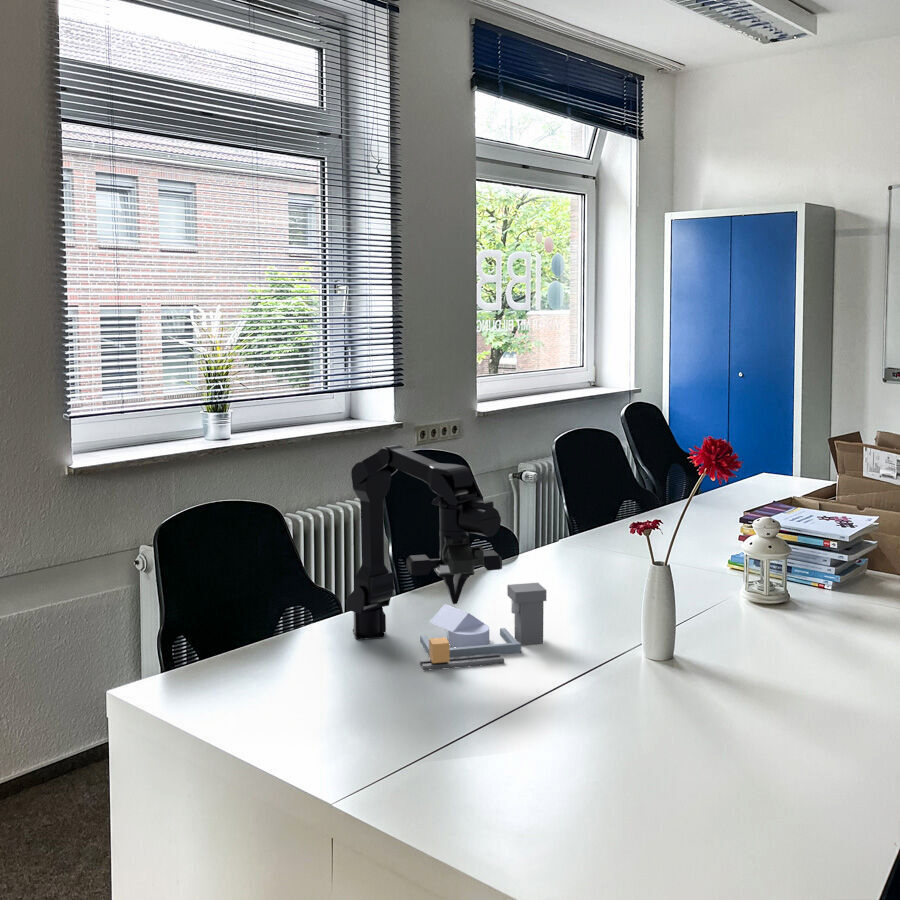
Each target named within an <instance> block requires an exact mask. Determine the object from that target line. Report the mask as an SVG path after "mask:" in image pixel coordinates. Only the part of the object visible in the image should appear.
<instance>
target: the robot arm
mask: <svg viewBox="0 0 900 900" xmlns="http://www.w3.org/2000/svg"><path fill="white" fill-rule="evenodd" d="M397 471H399V472H400V471H401V472H403V473H405V474H407V475H410V476H411V477H414V478H417V479H419V480H421V481H423V482H424V483H426V484H427V485H428V488H429V489H430V490H431V491H432V492H433V493H435V494H436V495H437V497H436V498H434V499H433V500H432V501H431V505H434V506H437V507H438V506H439V534H438V535H439V558H429V557H428V556H427V554H415V555H413V554H412V555H409V556H408V557H407V558H406V569H407V571H408V572H409V574H410V576H428V575H429V574H430V572H432V569H433V570H434V571H433V572H435V574H436V575H437V576H438V578H442V580H443V582H444V584H445V586H446V587H445V588H446V589H447V593H448V595H449V597H450V601H451V603H452V605H457V604H458V602H459V599H460V596H461V594H462V590H463V588H464V585H465V584H466V581H467V579H468V578H469V577H470V576H474V575H475V567H476V566H483V568H484V569H485V570H487V571H496V570H498V571H499V570H502V569H503V559H502V556H501V555H499V553H497V552H496V551H495V550H493V549H491V550H490V549H487V550H484V548H483V546H471V544H470V535H469V534H475V535H479V536H484V537H488V538H490V537H493V536H494V535H496V534H497V533H498V531H499V529H500V527H501V523H502V522H501V521H502V518H501V514H500V512H499V511H498V509H497V508H495V507H494V502H493V501H492V500H484V496H483V495H482V493H481V492H482V491H481V490H480V488H479V486H478V483H476V481H475V478H474V476H473V474H472V473H471V469H470V468H469V467H467V466H465V465H462V464H456V463H442V462H441V463H440V462H437V461H435V460H433V459H430V458H428V457H426V456H424V455H421V454H418V453H416V452H414V451H412V450H409V449H406V448H405V447H404V446H403V445H400V444H395V445H387V446H384V447H382V448H381V449H379V450H378V451H377V452H376V453H373V454H372V455H370V456H368V457H366V458H364V459H363V460H362V461H359V462H357V463H355V464H354V465H353V466H352V468H351V472H350V473H351V474H350V475H351V482H352V489H353V490H352V491H354V493H355V495H356V496H357V498H358V500H359V501H360V502H359V503H360V534H361V535H360V536H361V537H360V539H361V541H360V543H361V547H360V548H361V565H360V567H359V569H358V571H357V574H356V575H355V577H354V586H353V591H352V592H351V593H350V594H349V595H348V597H347V598H346V599H345V600H344V601H345V606H346V610H347V611H350V612H352V613H353V628H352V632H354V633H353V635H354V637H356V638H355V639H356V640H366V639H365V638H369V639H378V638H385V637H386V634H385V633H386V631H387V627H386V626H387V625H386V623H387V622H386V620H387V617H386V613H385V612H384V607H388V606H390V602H391V599H392V597H393V594H394V591H395V590H396V587H395V574H394V571H389V569H388V567H387V566H386V564H385V536H384V535H385V533H384V532H385V529H384V528H385V526H384V522H385V521H384V499H385V498H386V496H387V494H388V492H389V490H390V489H391V488H390V487H391V479H392V476H393V475H394V474H395V473H397Z"/></svg>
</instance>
